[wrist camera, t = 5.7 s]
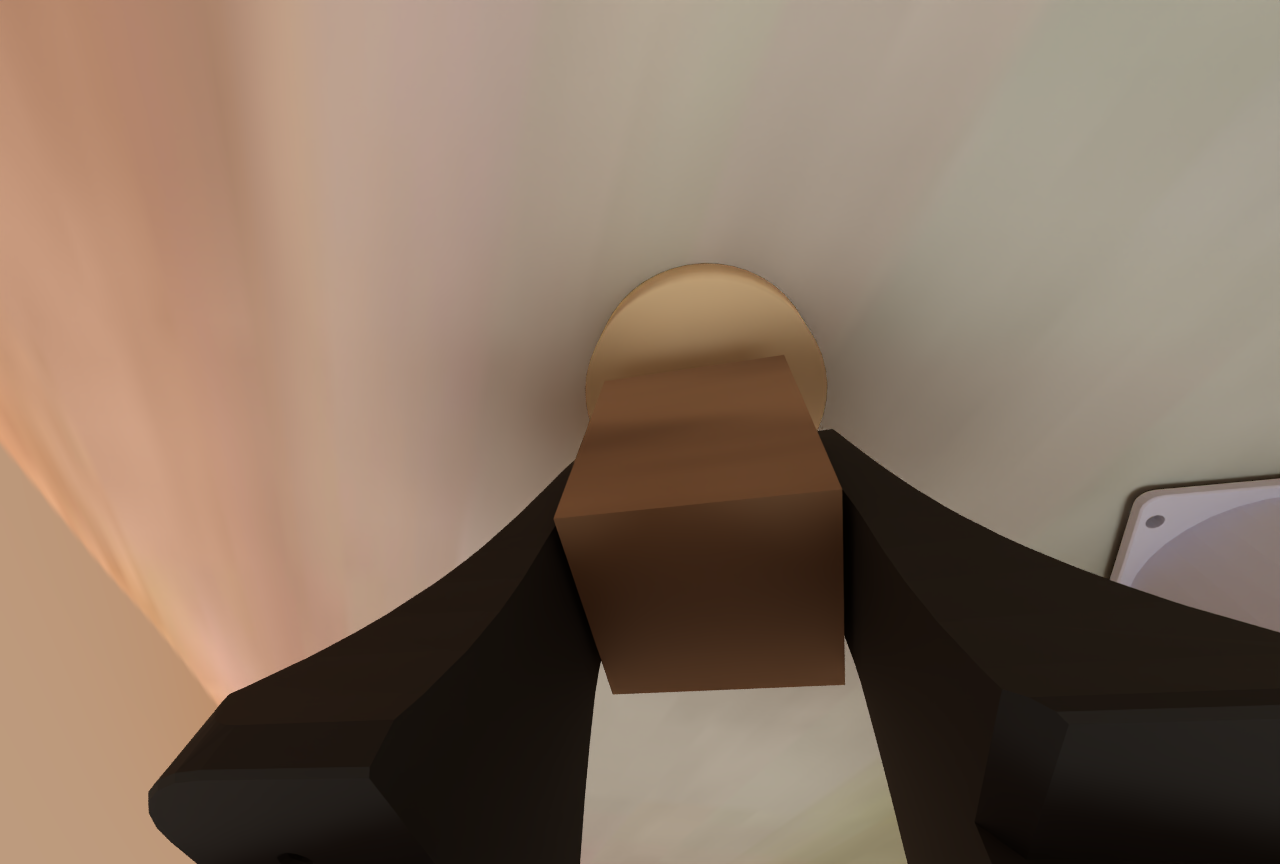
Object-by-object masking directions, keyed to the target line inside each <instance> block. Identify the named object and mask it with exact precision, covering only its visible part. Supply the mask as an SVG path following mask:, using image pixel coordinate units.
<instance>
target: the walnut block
mask: <svg viewBox="0 0 1280 864" xmlns="http://www.w3.org/2000/svg"><path fill="white" fill-rule="evenodd" d="M554 522H555V525H556V528H557V531H558V534H559V537H560V540H561V543H562V546H563V549H564V552H565V554H566V557H567V560H568V563H569V566H570V569H571V572H572V575H573V578H574V581H575V584H576V587H577V590H578V593H579V596H580V599H581V602H582V605H583V608H584V611H585V614H586V617H587V619H588V622H589V625H590V628H591V631H592V634H593V637H594V640H595V643H596V646H597V649H598V652H599V655H600V658H601V661H602V664H603V667H604V670H605V673H606V676H607V679H608V682H609V685H610V687H611V690H612V693H613V694H634V693H658V692H682V691H706V690H730V689H754V688H778V687H802V686H826V685H845V654H844V582H843V509H842V488H841V485H840V483H839V481H838V478H837V476H836V474H835V471H834V469H833V467H832V464H831V462H830V460H829V458H828V455H827V453H826V451H825V448H824V446H823V444H822V441H821V439H820V437H819V434H818V432H817V430H816V427H815V425H814V423H813V421H812V418H811V416H810V414H809V411H808V409H807V407H806V404H805V402H804V400H803V397H802V395H801V393H800V391H799V388H798V386H797V384H796V381H795V379H794V377H793V374H792V372H791V370H790V367H789V365H788V363H787V360H786V358H785V356H784V355H780V356H773V357H766V358H759V359H752V360H745V361H739V362H732V363H725V364H718V365H711V366H705V367H698V368H691V369H684V370H677V371H670V372H664V373H657V374H650V375H643V376H636V377H630V378H623V379H616V380H609V381H604V384H603V387H602V389H601V392H600V395H599V397H598V400H597V403H596V405H595V408H594V411H593V414H592V416H591V419H590V422H589V424H588V427H587V430H586V432H585V435H584V438H583V441H582V443H581V446H580V449H579V451H578V454H577V457H576V459H575V462H574V465H573V467H572V470H571V473H570V476H569V478H568V481H567V484H566V486H565V489H564V492H563V494H562V497H561V500H560V502H559V505H558V508H557V511H556V513H555V516H554Z"/></svg>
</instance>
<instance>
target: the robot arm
mask: <svg viewBox="0 0 1280 864" xmlns="http://www.w3.org/2000/svg"><path fill="white" fill-rule="evenodd" d="M817 432H818V434H819V437H820V439H821V441H822V444H823V446H824V448H825V451H826V453H827V455H828V458H829V460H830V462H831V464H832V467H833V469H834V471H835V474H836V476H837V478H838V481H839V483H840V485H841V488H842V509H843V582H844V636H845V639H846V641H847V644H848V647H849V649H850V652H851V654H852V657H853V660H854V663H855V666H856V669H857V672H858V675H859V678H860V681H861V685H862V688H863V692H864V696H865V699H866V703H867V707H868V710H869V714H870V718H871V722H872V725H873V729H874V733H875V736H876V740H877V744H878V748H879V752H880V756H881V760H882V763H883V767H884V771H885V775H886V779H887V783H888V787H889V790H890V794H891V798H892V802H893V806H894V810H895V814H896V818H897V822H898V826H899V830H900V835H901V839H902V843H903V847H904V851H905V855H906V859H907V863H908V864H1280V478H1279V479H1268V480H1257V481H1246V482H1235V483H1224V484H1213V485H1203V486H1192V487H1181V488H1170V489H1159V490H1152V491H1148V492H1145V493H1143V494H1141V495H1140V496H1139V497H1138V498H1136V500H1135V502H1134V503H1133V506H1132V509H1131V513H1130V516H1129V519H1128V522H1127V526H1126V529H1125V532H1124V535H1123V538H1122V542H1121V545H1120V548H1119V551H1118V555H1117V558H1116V561H1115V564H1114V568H1113V571H1112V574H1111V577H1110V580H1109V579H1106V578H1103V577H1101V576H1098V575H1095V574H1092V573H1090V572H1087V571H1084V570H1082V569H1079V568H1076V567H1074V566H1071V565H1069V564H1066V563H1064V562H1062V561H1059V560H1057V559H1054V558H1052V557H1049V556H1047V555H1045V554H1042V553H1040V552H1037V551H1035V550H1033V549H1030V548H1028V547H1025V546H1023V545H1021V544H1019V543H1016V542H1014V541H1012V540H1010V539H1008V538H1005V537H1003V536H1001V535H999V534H997V533H995V532H993V531H991V530H989V529H987V528H985V527H983V526H981V525H979V524H977V523H975V522H973V521H971V520H969V519H967V518H965V517H963V516H961V515H959V514H958V513H956V512H954V511H952V510H950V509H949V508H947V507H945V506H943V505H942V504H940V503H938V502H937V501H935V500H933V499H932V498H930V497H928V496H927V495H925V494H923V493H922V492H920V491H918V490H917V489H915V488H914V487H912V486H910V485H909V484H907V483H906V482H904V481H903V480H901V479H900V478H898V477H897V476H895V475H894V474H892V473H891V472H890V471H888V470H887V469H885V468H884V467H882V466H881V465H880V464H878V463H877V462H875V461H874V460H873V459H871V458H870V457H869V456H867V455H866V454H865V453H863V452H862V451H861V450H859V449H858V448H857V447H855V446H854V445H853V444H852V443H850V442H849V441H848V440H846V439H845V438H844V437H842V436H841V435H840V434H839V433H837V432H836V431H835V430H833V429H831V430H823V431H817ZM574 462H575V461H573V462H572V463H571V464H570V465H569V466H568V467H567V468H565V469H564V470H563V471H562V472H561V473H560V474H559V475H558V476H557V477H556V478H555V479H554V480H553V481H552V482H551V483H550V484H549V485H548V486H547V487H546V488H545V489H544V490H543V491H542V492H541V493H540V494H539V495H538V496H537V497H536V498H535V499H534V500H533V501H532V502H531V503H530V504H529V505H528V506H527V507H526V508H525V509H524V510H523V511H522V512H521V513H520V514H519V515H518V516H517V517H516V518H514V519H513V520H512V521H511V522H510V523H509V524H508V525H507V526H506V527H504V528H503V529H502V530H501V531H500V532H499V533H498V534H497V535H495V536H494V537H493V538H492V539H491V540H490V541H489V542H488V543H487V544H485V545H484V546H483V547H482V548H481V549H479V550H478V551H477V552H476V553H474V554H473V555H472V556H471V557H469V558H468V559H467V560H466V561H464V562H463V563H462V564H460V565H459V566H458V567H456V568H455V569H454V570H452V571H451V572H450V573H448V574H447V575H446V576H444V577H443V578H442V579H440V580H439V581H437V582H436V583H434V584H433V585H431V586H430V587H428V588H427V589H425V590H424V591H422V592H421V593H419V594H418V595H416V596H414V597H413V598H411V599H410V600H408V601H407V602H405V603H404V604H402V605H401V606H399V607H397V608H396V609H394V610H393V611H391V612H390V613H388V614H387V615H385V616H383V617H381V618H380V619H378V620H376V621H375V622H373V623H371V624H369V625H368V626H366V627H364V628H362V629H361V630H359V631H357V632H355V633H354V634H352V635H350V636H348V637H346V638H344V639H342V640H341V641H339V642H337V643H335V644H333V645H331V646H329V647H328V648H326V649H324V650H322V651H320V652H318V653H316V654H314V655H312V656H310V657H308V658H306V659H304V660H302V661H300V662H298V663H295V664H293V665H291V666H289V667H287V668H285V669H283V670H281V671H279V672H276V673H274V674H272V675H270V676H268V677H266V678H264V679H262V680H259V681H257V682H255V683H253V684H251V685H249V686H247V687H244V688H242V689H240V690H238V691H235V692H233V693H231V694H229V695H228V696H227V697H226V698H225V699H224V700H223V702H222V703H221V704H220V705H219V706H218V708H217V709H216V710H215V712H214V713H213V714H212V715H211V716H210V717H209V719H208V720H207V721H206V722H205V724H204V725H203V726H202V727H201V728H200V730H199V731H198V732H197V733H196V734H195V736H194V737H193V738H192V739H191V741H190V742H189V743H188V744H187V745H186V747H185V748H184V749H183V750H182V752H181V753H180V754H179V755H178V756H177V758H176V759H175V760H174V761H173V762H172V764H171V765H170V766H169V767H168V769H167V770H166V771H165V772H164V773H163V775H162V776H161V777H160V778H159V779H158V780H157V782H156V783H155V784H154V785H153V787H152V788H151V789H150V791H149V793H148V797H149V798H148V799H149V800H148V802H149V803H148V805H149V814H150V816H151V818H152V820H153V822H154V824H155V825H156V827H157V829H158V830H159V831H160V832H162V834H163V835H165V837H166V838H167V839H168V840H169V841H170V842H171V843H173V844H174V845H175V846H176V847H178V848H179V849H180V850H181V851H183V852H184V853H185V854H186V855H188V857H190V858H191V859H192V860H193V861H195V862H196V863H197V864H580V857H581V843H582V829H583V815H584V801H585V789H586V778H587V767H588V756H589V745H590V736H591V727H592V717H593V708H594V699H595V691H596V685H597V679H598V673H599V668H600V663H601V658H600V655H599V652H598V649H597V646H596V643H595V640H594V637H593V634H592V631H591V628H590V625H589V622H588V619H587V617H586V614H585V611H584V608H583V605H582V602H581V599H580V596H579V593H578V590H577V587H576V584H575V581H574V578H573V575H572V572H571V569H570V566H569V563H568V560H567V557H566V554H565V552H564V549H563V546H562V543H561V540H560V537H559V534H558V531H557V528H556V525H555V522H554V516H555V513H556V511H557V508H558V505H559V502H560V500H561V497H562V494H563V492H564V489H565V486H566V484H567V481H568V478H569V476H570V473H571V470H572V467H573V465H574ZM1152 516H1153V517H1152ZM1149 518H1150V519H1149Z"/></svg>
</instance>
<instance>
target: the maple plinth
mask: <svg viewBox="0 0 1280 864" xmlns="http://www.w3.org/2000/svg"><path fill="white" fill-rule="evenodd" d="M780 355H784V356H785V358H786V360H787V363H788V365H789V367H790V370H791V372H792V374H793V377H794V379H795V381H796V384H797V386H798V388H799V391H800V393H801V395H802V397H803V400H804V402H805V404H806V407H807V409H808V411H809V414H810V416H811V418H812V421H813V423H814V425H815V427H816V430H817V429H818V427H819V425H820V422H821V419H822V416H823V413H824V409H825V403H826V397H827V378H826V369H825V365H824V361H823V358H822V354H821V352H820V350H819V347H818V345H817V343H816V340H815V339H814V337H813V336H812V334H811V332H810V331H809V329H808V327H807V326H806V324H805V323H804V321H803V319H802V318H801V316H800V314H799V313H798V311H797V310H796V308H795V306H794V305H793V304H792V303H791V302H790V300H789V299H788V298H787V297H786V296H785V295H784V294H783V293H782V292H781V291H780V290H779V289H777V288H776V287H775V286H774V285H773V284H771V283H770V282H768V281H766V280H765V279H763V278H762V277H760V276H758V275H756V274H753V273H751V272H749V271H747V270H743V269H740V268H737V267H734V266H728V265H722V264H704V263H701V264H692V265H685V266H681V267H677V268H673V269H670V270H667V271H665V272H662V273H660V274H657V275H656V276H654V277H652V278H650V279H648V280H647V281H645V282H643V283H642V284H641V285H639V286H638V287H637V288H635V289H634V290H633V291H632V292H631V293H629V294H628V295H627V296H626V297H625V298H624V299H623V300H622V302H621V303H620V304H619V305H618V307H617V308H616V309H615V311H614V312H613V314H612V315H611V317H610V319H609V321H608V322H607V324H606V326H605V328H604V330H603V332H602V334H601V337H600V339H599V341H598V343H597V345H596V347H595V350H594V352H593V355H592V357H591V360H590V363H589V367H588V371H587V377H586V388H585V391H586V405H587V410H588V415H589V418H590V419H591V416H592V414H593V411H594V408H595V405H596V403H597V400H598V397H599V395H600V392H601V389H602V387H603V384H604V381H609V380H616V379H623V378H630V377H636V376H643V375H650V374H657V373H664V372H670V371H677V370H684V369H691V368H698V367H705V366H711V365H718V364H725V363H732V362H739V361H745V360H752V359H759V358H766V357H773V356H780Z"/></svg>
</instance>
